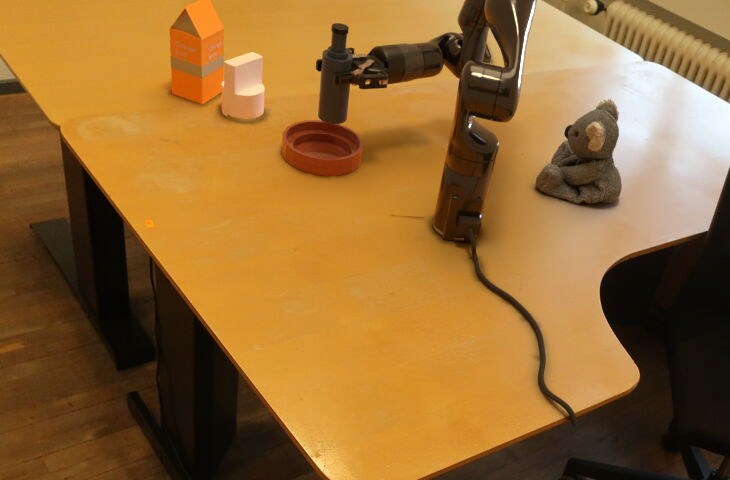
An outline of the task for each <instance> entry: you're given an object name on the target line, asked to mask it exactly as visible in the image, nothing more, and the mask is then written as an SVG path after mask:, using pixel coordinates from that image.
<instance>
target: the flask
mask: <svg viewBox="0 0 730 480" xmlns="http://www.w3.org/2000/svg"><path fill="white" fill-rule="evenodd" d="M349 29H350V28H349V25H347V24H345V23H340V22H335V23H331V29H330V31H331V43H330V46H328V47H327V49H324V50H323V51H322V56H321V59H322V68H321V71H320V83H319V95H318V96H319V98H318V111H317V117H318V120H321V121H324V122H326V123H330V124H340V125H342V124H344V123H346V122H347V119H348V110H349V100H350V91H351V90H350V89H351V84H347V85H339V86H335V85H334V84H333V75H334V74H335V73H343V72H351V71H352V61H353V56H352V54H350V53H349V51H348V49H346V48H347V39H348V34H349Z"/></svg>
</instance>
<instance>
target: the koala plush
mask: <svg viewBox="0 0 730 480" xmlns="http://www.w3.org/2000/svg"><path fill="white" fill-rule="evenodd" d="M619 115H620V111H619V110H618V106H617V105H616V103H615V101H614V100H612V99H610V98H608V99H607V100H605V99H603V100H602V101H601V100H600V102H599V103H598V104H597V105H596V106H595V109H593V110H590V111H588V112H587V113H585V114H583V115H582V116H580V117H579V118H577V120H575V122H574V123H573V124H569V125H567V126H566V127H565V129H564V137H565V138H566V140H563V141H562V142H561V143H560V145H559V146H558V147H557V149H556V151H555V152H554V153H553V155H552V157H551V161H550V163H547V164H546V165H545V166H544V167H543V168H542V170H540V172H539V174H538V175H537V177H536V180H535V188H536V189H538V190H539V191H540V192H542V193H545V194H547V195H548V196H551V197H555V198H559V199H563V200H567V201H569V202H571V203H573V204H580V203H582V202H584V203H586V204H597V203H599V202H601V203H606V204H607V203H608V204H610V203H614V202H616V200H617V199H618V198H619V197H620V196H621V193H622V189H623V183H622V177H621V174H620V172H619V169H618V167H616V165H615V161H614V157H613V153H614V151H615V149H616V147H617V143H618V140H619V136H620V129H619V128H620V127H619V125H618V121H619Z"/></svg>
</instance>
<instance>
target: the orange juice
mask: <svg viewBox="0 0 730 480" xmlns="http://www.w3.org/2000/svg"><path fill="white" fill-rule="evenodd" d="M224 38H225V26H224V25H223V23H222V21H221V19H220V17H219V15H218V13H217V11H216V9H215V8H214V6H213V3H212V2H211V0H197V1H195V2H192V3H190V4H188V5H186V6H184V9H183V10H182V11H181V13H180V14H179V16H178V17H177V18H176V19H175V21H174V22H173V23H172V25H171V26H170V27H169V46H170V48H169V49H170V56H169V57H170V72H171V74H170V75H171V93H172V95H174V96H178V97H181V98H183V99H186V100H189V101H192V102H194V103H198V104H200V105H204V104H206V103H207V102H209V101H210V100H212V99H213V98H215V97H216V96H218V95H219V94H222V82H223V81H224V61H225V53H224V52H225V41H224V40H225V39H224Z"/></svg>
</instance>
